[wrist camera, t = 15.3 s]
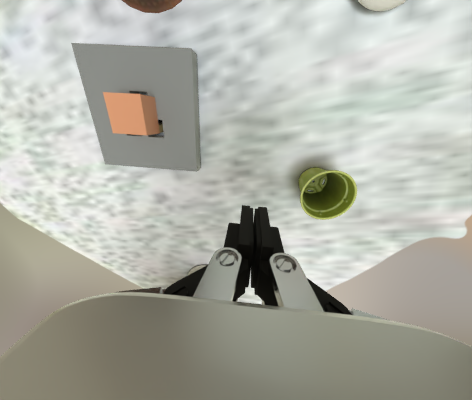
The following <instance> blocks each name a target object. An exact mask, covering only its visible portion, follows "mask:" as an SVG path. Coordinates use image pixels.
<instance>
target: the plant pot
mask: <svg viewBox="0 0 472 400" xmlns="http://www.w3.org/2000/svg"><path fill="white" fill-rule="evenodd" d="M324 179H325V182H324V184H323V185H322V183H323V180H324ZM313 180H314V181H315V182H312V181H313ZM299 188H300V191H301V194H300V203H301V206H302V208H303V210H304V211H305V213H306V214H308V215H309V216H311V217H313V218H316V219H322V220H325V219H332V218H335V217H338V216H340V215H342V214H343V213H345V212H346V211H347V210H348V209H349V208H350V207H351V206H352V204H353V203H354V201H355V199H356V195H357V186H356V183H355V181H354V180H353V178H352V177H351V176H350V175H348V174H347V173H344V172H342V171H337V170H329V171H327V170H324V169H321V168H317V167H314V168H309V169H308V170H306V171H305V172H303V173H302V174H301V176H300V178H299ZM308 190H314V191H313V192H309V191H308Z"/></svg>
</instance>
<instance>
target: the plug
mask: <svg viewBox="0 0 472 400" xmlns="http://www.w3.org/2000/svg"><path fill="white" fill-rule="evenodd" d="M103 95H104V99H105V103H106V107H107V111H108V115H109V119H110V123H111V127H112V131H113V133H117V134H133V135H153V134H159V133H161V132H164V131H163V124H158V116H157V109H156V102H155V97H151V96H147V95H142V94H130V93H111V92H103Z"/></svg>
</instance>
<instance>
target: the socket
mask: <svg viewBox="0 0 472 400" xmlns="http://www.w3.org/2000/svg"><path fill="white" fill-rule="evenodd" d="M71 44H72V47H73V51H74V55H75V58H76V62H77V65H78V69H79V72H80V76H81V79H82V83H83V86H84V90H85V94H86V97H87V101H88V104H89V108H90V111H91V115H92V118H93V122H94V126H95V129H96V133H97V136H98V140H99V143H100V147H101V150H102V154H103V157H104V161H105V164H110V165H123V166H136V167H148V168H161V169H174V170H186V171H198V170H199V169H200V168H201V162H200V132H199V103H198V74H197V55H196V53H195V52H194V51H193V50H192V49H190V48H168V47H146V46H124V45H102V44H79V43H71ZM103 92H111V93H130V94H139V93H147V96H151V97H155V102H156V109H157V116H158V120H162V123H163V131H164V136H156V134H153V135H133V134H117V133H113V131H112V127H111V123H110V119H109V115H108V111H107V107H106V103H105V99H104V95H103Z"/></svg>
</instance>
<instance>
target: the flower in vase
mask: <svg viewBox="0 0 472 400" xmlns="http://www.w3.org/2000/svg"><path fill="white" fill-rule="evenodd" d="M406 1H407V0H358V2H359V3H360V4H361V5H362V6H364V7H365V8H367V9H369V10H373V11H386V10H390V9H393V8H395V7H397V6H399V5H401V4H403V3H404V2H406Z"/></svg>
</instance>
